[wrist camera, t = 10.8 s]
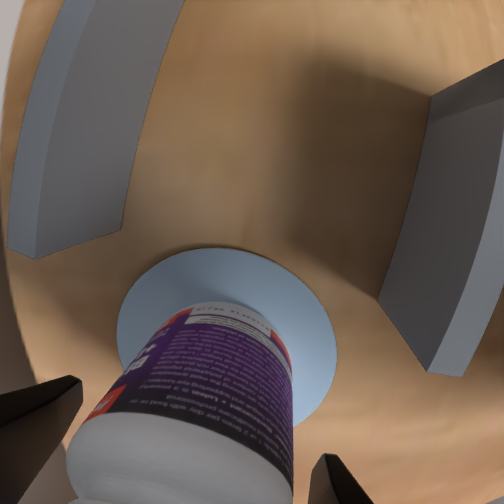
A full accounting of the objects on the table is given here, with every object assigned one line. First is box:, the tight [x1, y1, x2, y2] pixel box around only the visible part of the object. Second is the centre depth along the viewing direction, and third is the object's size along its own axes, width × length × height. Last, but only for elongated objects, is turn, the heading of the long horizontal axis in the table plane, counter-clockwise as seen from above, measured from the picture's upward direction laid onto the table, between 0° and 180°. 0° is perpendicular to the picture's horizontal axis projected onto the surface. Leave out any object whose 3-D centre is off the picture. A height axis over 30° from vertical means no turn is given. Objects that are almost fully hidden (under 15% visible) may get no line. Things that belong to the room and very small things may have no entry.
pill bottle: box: [66, 301, 293, 504], centre depth 7 cm, size 5×5×10 cm
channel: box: [7, 0, 504, 377], centre depth 7 cm, size 21×19×5 cm
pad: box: [116, 247, 337, 427], centre depth 12 cm, size 9×9×1 cm
